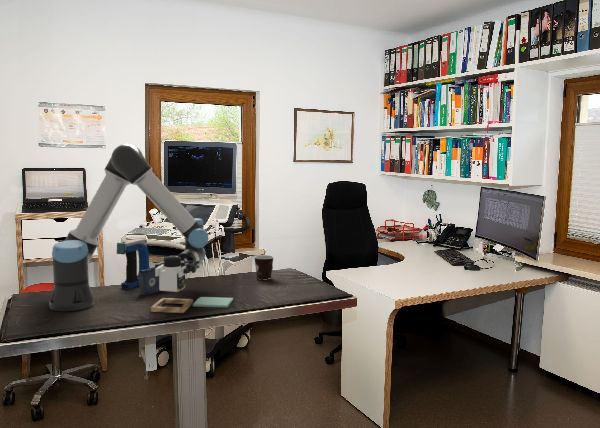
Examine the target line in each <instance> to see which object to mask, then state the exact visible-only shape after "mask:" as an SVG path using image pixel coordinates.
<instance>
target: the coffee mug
mask: <svg viewBox="0 0 600 428" xmlns="http://www.w3.org/2000/svg"><path fill="white" fill-rule="evenodd" d="M273 262H274V256H273V255H265V254H263V255H262V254H261V255H256V256H254V264H255V265H254V267H255V275H256V279H257V278H259V279H268V278H271V279H272V274H273V272H272V271H273V268H274V265H273Z"/></svg>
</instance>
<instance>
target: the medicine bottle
mask: <svg viewBox="0 0 600 428" xmlns="http://www.w3.org/2000/svg"><path fill="white" fill-rule="evenodd" d="M163 261H164V268H165V269H164V270H162V271H160V272H159V290H160V291H159V292H170V293H171V292H172V293H173V292H175V293H178V292H180V291H182V290H184V289H185V288H186V274H185V275H183V276H182V277H179V269H180V268H181V258H180V257H178V255H169V256H165V257H164V258H163Z"/></svg>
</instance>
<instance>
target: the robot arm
mask: <svg viewBox="0 0 600 428" xmlns="http://www.w3.org/2000/svg"><path fill="white" fill-rule="evenodd" d="M112 151H113V152H112V153H111V157H110V159H109V160H108V162H107V164H106V165H105V168H104V173H105V176H104V177H103V179H102V182H101V183H100V184H99V187H98V188H97V190H96V193H95V194H94V196H93V198H92V199H91V201H90V203H89V205H88V207H87V208H86V210H85V212H84V213H83V216H82V217H81V219H80V221H79V223H78V225H77V227H76V228H75V229H71V230H69V232H68V234H67V236H66V237H65V239H64V240H63V241H60V242H59V241H58V242H57V243H55V244H54V245H53V246H52V250H51V256H52V267H53V268H52V269H53V271H52V272H53V273H52V274H53V275H52V276H53V289H52V293H51V295H50V299H49V301H48V302H49V309H50V310H52V311H55V312H74V311H80V310H81V311H82V310H85V309H88V308H91V307H93V306H94V305H95V304H96V303H95V302H96V301H95V296H94V293H93V291H92V289H91V286H90V282H89V281H90V279H89V263H90V261H91V259H92V257H93V256H94V253H95V251H96V250H97V248H98V247H99V240H98V239H99V236H100V234H101V232H102V231H103V228H104V227H105V225H106V223H107V222H108V220H109V218H110V216H111V215H112V212H113V211H114V210H115V208H116V206H117V203H118V202H119V200H120V198H121V196H122V195H123V193H124V191H125V189H126V188H127V186H128V185H133V186H134V185H136V186H137V187H138V189H140V191H142V193H144V195H145V196H146V197H147V198H148V199H149V200H150V201H151V202H152V204H154V206H155V207H156V208H157V209H158V210H159V211H160V212H161V213H162V214H163V215H164V217H166V218H167V219H168V221H169V222H170V223H171V224H172V225H173V226H174V228H176V230H177V231H179V233H180V234H181V235H182V236H183V237H184V251H182V252H181V253H179V254H178V255H177V256H178V257H180V258H181V268H180V269H179V277H182V276H183V275H185V276H186V274H191V273H192V274H195V273H197V270H198V269H200V266H201V265H200V264H201V263H202V262H203V261H204V260H205V259H206V249H205V248H204V247H205V246H206V245H207V244H208V241H209V233H208V232H207V230H205V229H204V220H203V219H202V218H198V217H197V218H196V217H195V218H194V217H193V215H192V214H190V212H189V211H188V209H186V207H184V205H183V204H182V203H181V202H180V201H179V200H178V199H177V198H176V197H175V195H174V194H172V192H171V191H170V190H169V189H168V188H167V187H166V185H165V184H164V183H163V182H162V181H161V180H160V179H159V178H158V176H157V175H156V174H155V173H154V172H153V167H152V166H151V164H149V162H148V161H147V159H146V158H145V156H144V155H143V153H142V151H141V150H140V148H138V147H137V146H135V145H133V144H130V143H126V144H125V143H124V144H120V145H119V146H117V147H115V149H113V150H112ZM154 267H155V276H159V272H160V271H162V270H164V269H165V268H164V260H163V261H160V262H158V263H156V264H154Z"/></svg>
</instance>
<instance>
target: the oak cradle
mask: <svg viewBox="0 0 600 428" xmlns="http://www.w3.org/2000/svg"><path fill="white" fill-rule="evenodd" d="M164 304H175V305H177V304H178V305H179V304H180V305H182V306H181V307H180V306H163V305H164ZM193 304H194V299H193V298H174V297H171V298H169V297H168V298H166V297H162V298H161V299H159V300H157V302H155V303H154V304H153V305H152V306H150V312H151V313H155V312H156V313H173V314H175V313H177V314H179V313H180V314H181V313H182V314H183V313H185V312H186V311H187V310H188V309H189V308H190V307H191V306H193Z"/></svg>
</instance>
